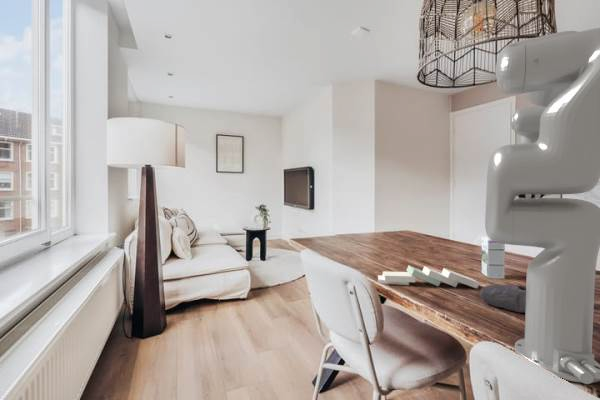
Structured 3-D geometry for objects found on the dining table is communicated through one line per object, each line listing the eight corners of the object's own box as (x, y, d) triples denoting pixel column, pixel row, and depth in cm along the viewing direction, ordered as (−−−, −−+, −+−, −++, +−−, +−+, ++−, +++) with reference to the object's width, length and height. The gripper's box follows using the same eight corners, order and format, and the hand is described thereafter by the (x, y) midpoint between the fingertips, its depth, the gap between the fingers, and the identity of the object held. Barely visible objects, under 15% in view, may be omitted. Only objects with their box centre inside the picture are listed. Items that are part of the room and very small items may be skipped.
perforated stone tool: (478, 305, 80) (478, 281, 79) (480, 299, 84) (481, 277, 83) (548, 321, 70) (549, 294, 70) (547, 313, 74) (548, 288, 74)
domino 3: (441, 281, 95) (414, 269, 95) (438, 286, 95) (411, 275, 95) (434, 276, 100) (408, 265, 100) (431, 281, 100) (406, 270, 100)
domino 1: (408, 281, 97) (378, 279, 99) (408, 287, 97) (378, 285, 99) (406, 276, 101) (378, 275, 104) (406, 282, 102) (377, 280, 104)
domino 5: (479, 283, 92) (450, 272, 93) (477, 288, 93) (447, 278, 93) (471, 278, 97) (443, 268, 98) (469, 283, 98) (441, 273, 98)
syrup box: (505, 279, 101) (506, 239, 101) (486, 278, 103) (487, 239, 102) (497, 274, 107) (498, 236, 106) (480, 273, 108) (481, 236, 107)
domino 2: (415, 276, 95) (385, 275, 97) (415, 282, 96) (385, 281, 97) (411, 272, 100) (382, 271, 102) (411, 277, 100) (382, 276, 102)
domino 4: (458, 281, 94) (430, 270, 94) (455, 287, 94) (427, 275, 94) (450, 276, 99) (424, 266, 99) (448, 282, 99) (422, 271, 99)
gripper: (551, 154, 87) (549, 213, 88) (497, 156, 90) (496, 213, 91) (569, 151, 79) (567, 216, 80) (510, 153, 82) (508, 215, 83)
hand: (529, 214), depth 86 cm, fingers closed
